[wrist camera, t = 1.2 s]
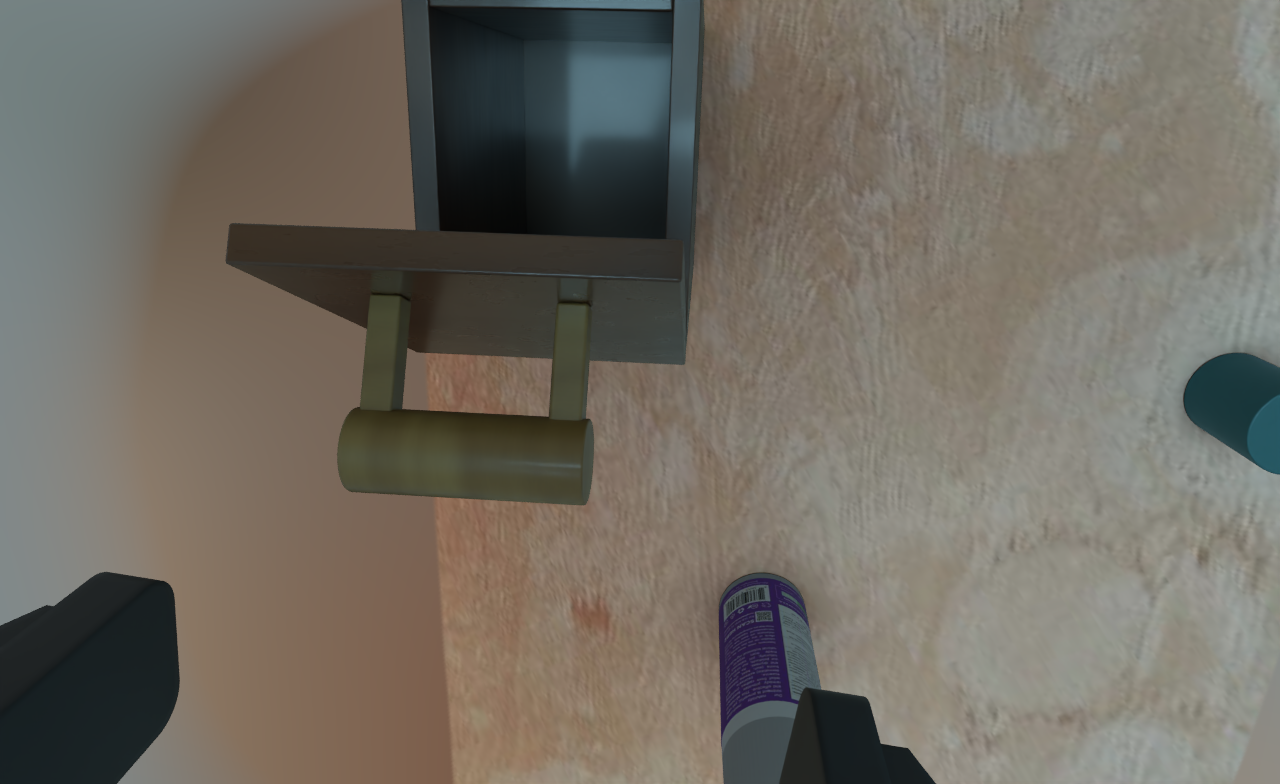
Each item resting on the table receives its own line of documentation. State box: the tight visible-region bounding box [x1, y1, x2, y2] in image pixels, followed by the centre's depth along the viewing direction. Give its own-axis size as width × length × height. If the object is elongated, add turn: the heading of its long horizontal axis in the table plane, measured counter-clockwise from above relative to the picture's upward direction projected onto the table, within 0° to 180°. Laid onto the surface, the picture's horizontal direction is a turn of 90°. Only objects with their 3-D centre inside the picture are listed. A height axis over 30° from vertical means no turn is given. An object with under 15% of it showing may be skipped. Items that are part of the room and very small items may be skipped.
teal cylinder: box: [1184, 353, 1280, 474], centre depth 37 cm, size 4×4×5 cm
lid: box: [226, 223, 686, 505], centre depth 21 cm, size 11×9×5 cm
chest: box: [401, 0, 705, 344], centre depth 32 cm, size 11×9×14 cm
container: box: [719, 573, 821, 784], centre depth 38 cm, size 5×5×15 cm
